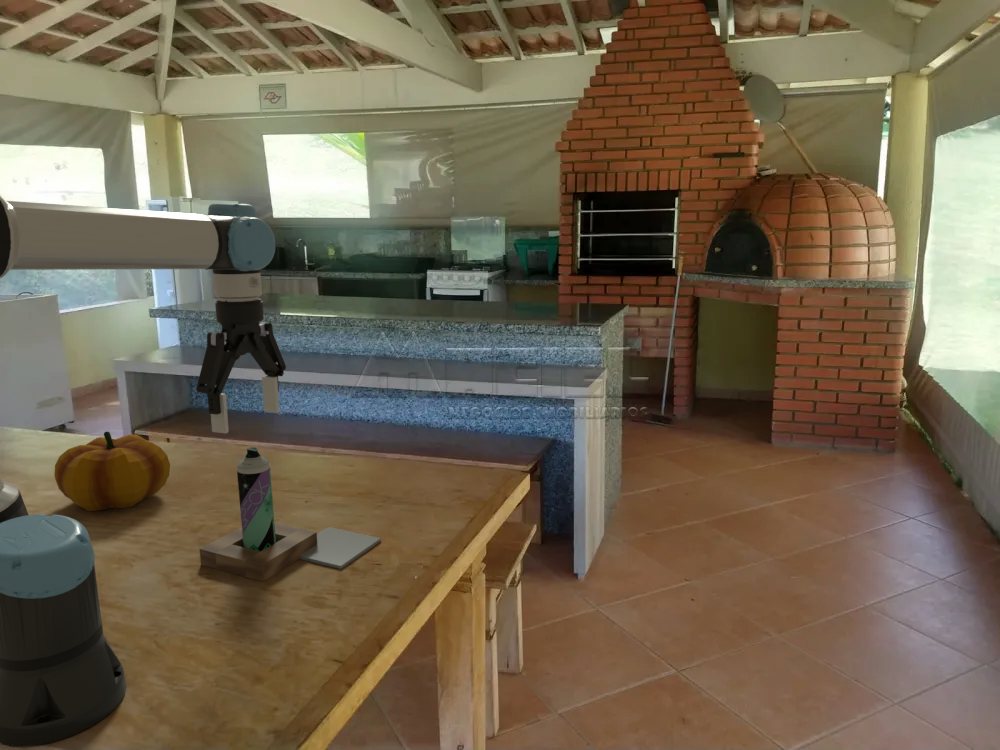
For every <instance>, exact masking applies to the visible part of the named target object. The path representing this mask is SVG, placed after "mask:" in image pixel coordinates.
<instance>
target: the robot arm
mask: <svg viewBox="0 0 1000 750" xmlns="http://www.w3.org/2000/svg"><path fill="white" fill-rule="evenodd" d="M207 209H208V211H207V212H208V213H207V214H200V213H198V214H197V213H188V212H187V213H185V212H171V211H159V210H158V211H156V210H145V209H131V208H130V209H129V208H114V207H113V208H112V207H103V206H102V207H100V206H88V205H87V206H86V205H85V206H83V205H74V204H73V205H71V204H60V203H58V204H56V203H45V202H44V203H43V202H27V201H15V200H14V201H13V200H5V199H4V198H3V197H2V196H1V195H0V279H2V278H4V277H5V276H6V275H7V273H9V271H13V270H14V271H16V270H18V271H20V270H23V271H26V270H28V271H30V270H31V271H32V270H35V271H37V270H38V271H42V270H43V271H45V270H47V271H48V270H52V271H53V270H58V271H59V270H60V271H61V270H68V271H69V270H73V271H74V270H75V271H76V270H78V271H79V270H80V271H81V270H84V271H85V270H86V271H88V270H89V271H90V270H91V271H93V270H207V271H208V270H209V271H210V270H212V279H213V283H212V284H213V295H214V297H215V298H217V300H216V301H215V303H214V307H215V318H216V322H217V323H219V325H221V330H220V332H214V331H212V332H211V331H209V332H208V333H206V334H207V335H206V350H205V354H204V358H203V359H202V365H201V369H200V373H199V375H198V376H199V377H198V379H197V381H198V382H197V384H196V388H195V389H196V392H197V393H200V394H201V393H202V394H205V395H206V396H207V405H208V412H209V415H210V421H211V432H212V433H219V434H227V433H229V418H228V404H227V394H226V393H223V391H224V388H225V385H226V384H227V381H228V379H229V376H230V374H231V372H232V369H233V368H234V365H235V363H236V361H237V360H239V359H240V357H241V356H243V355H246V354H247V353H248V354H250V355H251V357H252V359H254V361H255V362H256V363H257V365H258V366H259V368H260V369H261V370H262V372H263V373H264V375H263V376H261V381H262V383H261V384H262V397H263V399H262V400H263V401H262V402H263V412H264V413H273V414H279V413H280V401H279V391H280V387H279V386H280V385H279V377H283V375H284V374H285V372H284V371H285V370H286V369H287V365H286V362H285V360H284V358H283V355H282V353H281V350H280V347H279V345H278V343H277V340H276V338H275V334H274V330H273V325H272V322H265V321H264V319H265V318H264V317H265V316H264V301H263V300H262V298H260V297H262V295H263V291H262V289H263V287H262V278H261V276H262V275H261V271H262V270H263V269H264V268H266V266H268V265H269V264H270V263H271V262H272V260H273V258H274V257H275V256H274V255H275V253H276V238H275V235H274V232H273V230H272V228H271V227H270V225H269V224H268V223H266V221H264V220H263V219H261V218H258V214H257V213H258V212H257V210H256V207H255V206H253V205H252V204H249V203H211V204H209V206H208V208H207ZM263 321H264V322H263ZM95 557H96V556H95V550H94V547H93V545H92V543H91V538H90V535H89V532H88V530H87V528H86V527H85V526H84V525H83V524H82V523H81V522H79V521H78V520H76V519H74V518H72V517H70V516H66V515H62V514H51V515H48V516H47V515H46V513H40V514H39V513H37V514H29V513H28V510H27V506H26V504H25V502H24V499H23V495H22V494H21V491H20V488H19V487H18V486H17V485H16V484H14V483H12V482H7V481H4V480H2V479H0V744H1V745H2V744H3V745H7V746H12V747H13V746H14V747H28V746H38V745H44V744H48V743H53V742H57V741H60V740H62V739H66V738H68V737H71V736H74V735H76V734H78V733H80V732H83V731H85V730H87V729H89V728H90V727H93V726H94V725H96V724H97V723H99V722H101V721H102V720H103V719H104V718H106V717H107V716H108V715H110V713H112V712H113V711H114V710H115V709H116V708H117V707H118V706H119V704H120V703H121V702H122V700H123V698H124V696H125V694H126V691H127V683H126V675H125V670H124V666H123V665H122V663H121V661H120V660H119V658H118V655H117V654H116V653H115V651H114V650H113V647H112V646H111V645H110V642H109V640H107V637H106V636H105V633H104V629H103V621H102V614H101V612H102V611H101V605H100V597H99V588H98V581H97V574H96V565H95V560H96V559H95Z"/></svg>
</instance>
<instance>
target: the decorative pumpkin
mask: <svg viewBox="0 0 1000 750" xmlns="http://www.w3.org/2000/svg"><path fill="white" fill-rule="evenodd" d="M111 435H112V434H111V433H110V431H104V432H103V436H100V437H96V438H94V439H93V440H91V441H89V442H88V443H86V444H80V445H77V446H74V447H70V448H68V449H66V450H65V451H64V452H63V453H62V454H60V455H59V457H58V459H57V460H56V463H55V464H54V474H53V475H54V478H55V482H56V484H57V487H58V490H60V492H61V493H62V494H63V495H64V496H65V497H66V498H67V499H69V500H71V502H73V504H74V505H77V506H79V507H81V508H82V509H84V510H86V511H88V512H90V511H91V512H96V511H97V512H98V511H103V510H107V509H110V508H115V509H124V508H125V509H127V508H130V507H132V506H135V505H136V504H138V503H140V502H141V501H142V500H145V499H146V498H149V497H150V496H153V495H154V494H157V493H158V492H159V491H160V490H162V488H163V487H164V486H165V485H166V483H167V481H168V478H169V477H170V472H171V471H170V470H171V469H170V468H171V463H170V461H169V457H168V455H167V454H166V452H165V451H164V450H163V448H162V447H160V446H159V445H157V444H155V443H153V442H151V441H149V440H147V439H145V438H143V437H142V436H140V435H138V434H128V435H125V436H120V437H119V438H116V439H114V438H112V436H111Z"/></svg>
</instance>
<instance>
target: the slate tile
mask: <svg viewBox="0 0 1000 750" xmlns="http://www.w3.org/2000/svg"><path fill="white" fill-rule="evenodd" d="M381 541H382V538H381V537H378V536H372V535H367V534H363V533H362V534H361V533H358V532H353V531H349V530H344V529H340V528H336V527H331V526H327V527H326V528H324V529H322V530H320V531H319V532H317V545H316V546H314V547H312V548H311V549H309V550H308V551H306V552H304V553H303V554H301V555H300V556H299V559H298V560H302V561H305V562H310V563H314V564H317V565H318V564H319V565H323V566H327V567H331V568H335V569H339V570H341V569H343V568H345V567H346V566H348V565H349V564H351V563H352V562H353V561H355V560H356V559H357V558H359V557H361V556H362V555H364V553H366V552H368V551H369V550H371V549H372V548H373V547H375V546H376V545H377V544H379V543H380V542H381Z"/></svg>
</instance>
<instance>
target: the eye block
mask: <svg viewBox="0 0 1000 750" xmlns="http://www.w3.org/2000/svg"><path fill="white" fill-rule="evenodd" d="M274 524H275V537H276V543H274V544H273V545H271V546H269V547H268V548H266V549H264V550H262V551H261V552H260V551H256V550H252V549H248V548H244V546H243V534H242V526H240V527H239V528H237V529H235V530H232V531H231V532H229V533H227V534H226V535H223V536H221V537H219V538H217V539H216V540H213V541H212V542H210V543H208V544H206V545H204V546H202V547H200V548H199V549H198V550H199V557H200V565H201V566H204V567H207V568H208V567H209V568H211V569H215V570H219V571H223V572H226V573H230V574H234V575H237V576H241V577H245V578H247V579H251V580H255V581H259V582H265V581H267V580H269V578H271V577H273V576H275V575H277V573H279V572H281V571H283V570H284V569H285V568H287V567H289V566H291V565H293V564H294V563H295V562H297V561H298V560H300V559H299V556H300V555H301V554H303V553H304V552H306V551H308V550H309V549H311V548H312V547H314V546H316V545H317V533H318V532H317V531H315V530H310V529H304V528H299V527H295V526H292V525H287V524H282V523H277V522H274Z"/></svg>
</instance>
